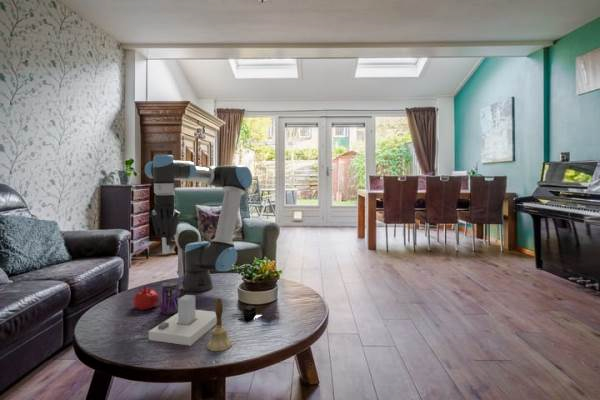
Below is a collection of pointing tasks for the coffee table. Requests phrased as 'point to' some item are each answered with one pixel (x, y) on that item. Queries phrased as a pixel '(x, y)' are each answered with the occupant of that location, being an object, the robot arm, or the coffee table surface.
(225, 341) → the hand bell
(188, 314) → the plug
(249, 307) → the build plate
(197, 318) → the socket plate
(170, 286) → the beverage can
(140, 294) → the pomegranate
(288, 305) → the coffee table surface
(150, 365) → the coffee table surface
